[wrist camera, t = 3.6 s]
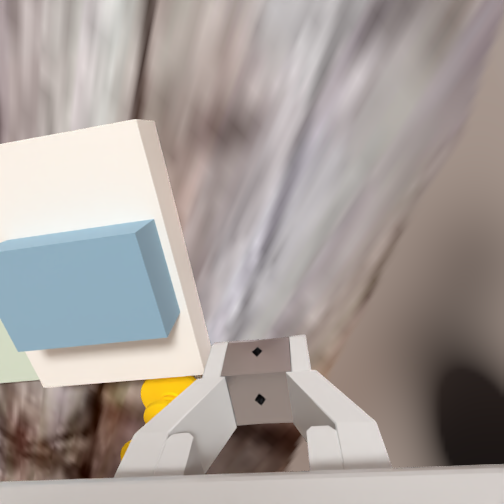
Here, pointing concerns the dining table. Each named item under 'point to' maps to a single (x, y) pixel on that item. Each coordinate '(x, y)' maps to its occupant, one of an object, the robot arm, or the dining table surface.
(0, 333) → the mat
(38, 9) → the dining table surface
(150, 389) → the candle
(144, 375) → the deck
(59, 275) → the tile
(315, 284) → the dining table surface
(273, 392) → the robot arm
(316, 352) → the dining table surface
